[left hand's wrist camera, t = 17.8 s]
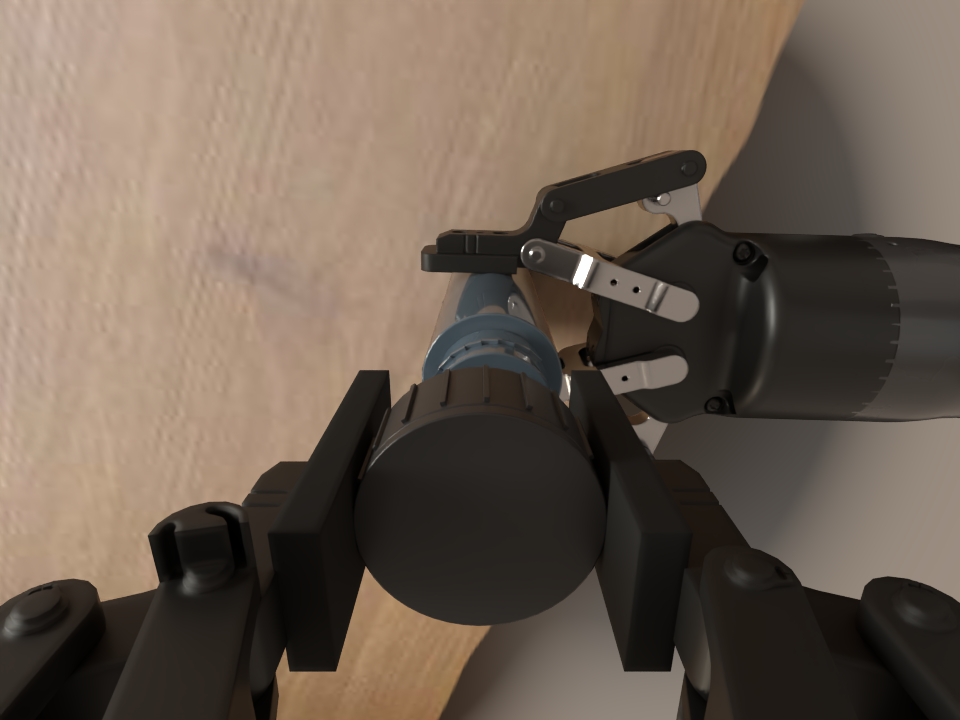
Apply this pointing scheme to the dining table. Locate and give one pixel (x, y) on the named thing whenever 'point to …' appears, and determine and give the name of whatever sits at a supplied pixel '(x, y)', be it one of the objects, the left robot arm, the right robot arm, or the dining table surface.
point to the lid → (480, 499)
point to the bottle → (494, 328)
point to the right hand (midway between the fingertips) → (425, 317)
